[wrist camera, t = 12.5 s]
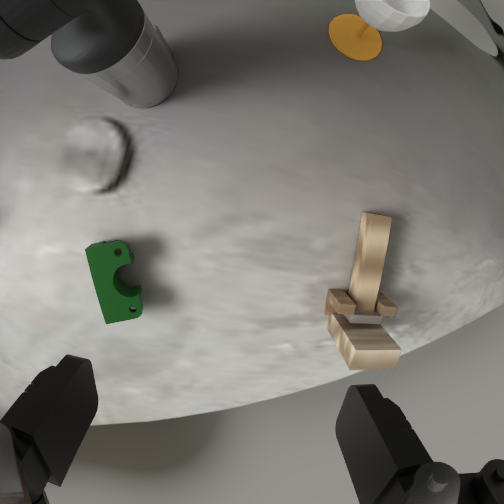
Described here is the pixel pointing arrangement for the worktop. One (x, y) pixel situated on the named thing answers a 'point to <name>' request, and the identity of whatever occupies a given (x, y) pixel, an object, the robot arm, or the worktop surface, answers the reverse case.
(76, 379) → the robot arm
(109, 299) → the clamp
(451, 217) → the worktop surface
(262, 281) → the worktop surface
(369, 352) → the post block
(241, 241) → the worktop surface
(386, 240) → the light wooden bar
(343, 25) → the cup
